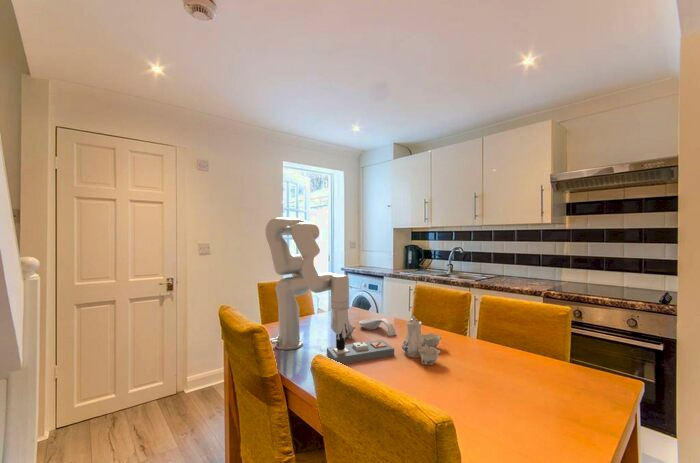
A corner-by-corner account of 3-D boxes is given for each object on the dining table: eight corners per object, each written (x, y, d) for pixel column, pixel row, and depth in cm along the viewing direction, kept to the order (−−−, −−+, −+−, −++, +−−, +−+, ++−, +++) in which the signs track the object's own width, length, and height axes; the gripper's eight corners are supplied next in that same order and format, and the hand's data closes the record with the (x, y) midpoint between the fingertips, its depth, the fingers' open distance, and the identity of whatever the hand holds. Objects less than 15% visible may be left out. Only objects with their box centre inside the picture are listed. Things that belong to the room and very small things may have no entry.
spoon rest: (354, 327, 177) (354, 314, 177) (371, 323, 184) (370, 311, 184) (384, 338, 158) (384, 324, 158) (401, 333, 166) (401, 319, 166)
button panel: (335, 365, 127) (335, 357, 127) (326, 354, 138) (326, 347, 138) (394, 355, 136) (394, 348, 136) (381, 346, 147) (381, 339, 147)
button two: (356, 352, 134) (356, 346, 134) (352, 348, 138) (352, 342, 138) (368, 351, 135) (367, 345, 135) (363, 347, 140) (363, 341, 140)
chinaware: (443, 374, 121) (447, 330, 121) (399, 366, 125) (402, 323, 124) (438, 347, 149) (442, 312, 148) (402, 342, 152) (405, 307, 152)
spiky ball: (349, 346, 159) (355, 333, 154) (333, 340, 159) (338, 326, 154) (352, 332, 166) (358, 319, 161) (337, 326, 167) (342, 313, 161)
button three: (375, 352, 137) (375, 346, 137) (370, 348, 141) (370, 342, 141) (386, 350, 138) (386, 344, 138) (381, 347, 143) (381, 341, 143)
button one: (337, 358, 131) (337, 352, 131) (333, 354, 135) (333, 348, 135) (349, 356, 132) (348, 350, 132) (345, 352, 137) (344, 346, 137)
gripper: (326, 301, 140) (326, 343, 140) (337, 309, 126) (337, 356, 126) (342, 300, 142) (343, 341, 142) (355, 307, 128) (355, 353, 128)
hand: (340, 348), depth 134 cm, fingers closed
